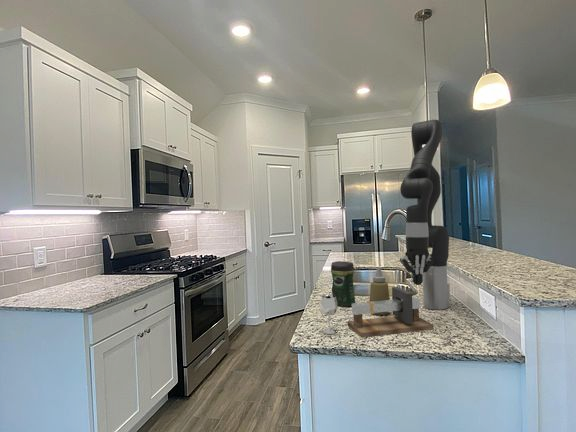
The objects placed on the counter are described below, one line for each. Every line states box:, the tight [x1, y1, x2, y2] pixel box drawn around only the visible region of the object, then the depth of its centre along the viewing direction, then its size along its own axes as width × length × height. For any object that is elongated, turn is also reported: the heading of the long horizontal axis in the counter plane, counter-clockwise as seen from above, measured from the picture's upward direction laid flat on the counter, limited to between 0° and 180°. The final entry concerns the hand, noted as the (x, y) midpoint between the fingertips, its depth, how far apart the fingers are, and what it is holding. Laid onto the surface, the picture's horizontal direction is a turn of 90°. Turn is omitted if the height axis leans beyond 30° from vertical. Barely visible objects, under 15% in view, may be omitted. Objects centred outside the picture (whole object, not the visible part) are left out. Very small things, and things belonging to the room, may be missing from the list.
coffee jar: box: [330, 260, 356, 307], centre depth 149 cm, size 10×8×19 cm
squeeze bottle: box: [369, 266, 391, 316], centre depth 135 cm, size 8×8×18 cm
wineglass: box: [319, 294, 339, 335], centre depth 118 cm, size 6×6×12 cm
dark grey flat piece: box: [391, 286, 413, 324], centre depth 121 cm, size 2×10×10 cm, turn 12°
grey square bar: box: [351, 297, 421, 315], centre depth 120 cm, size 24×4×4 cm, turn 102°
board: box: [347, 308, 435, 338], centre depth 120 cm, size 26×12×6 cm, turn 102°
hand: (417, 284), depth 122 cm, fingers closed
